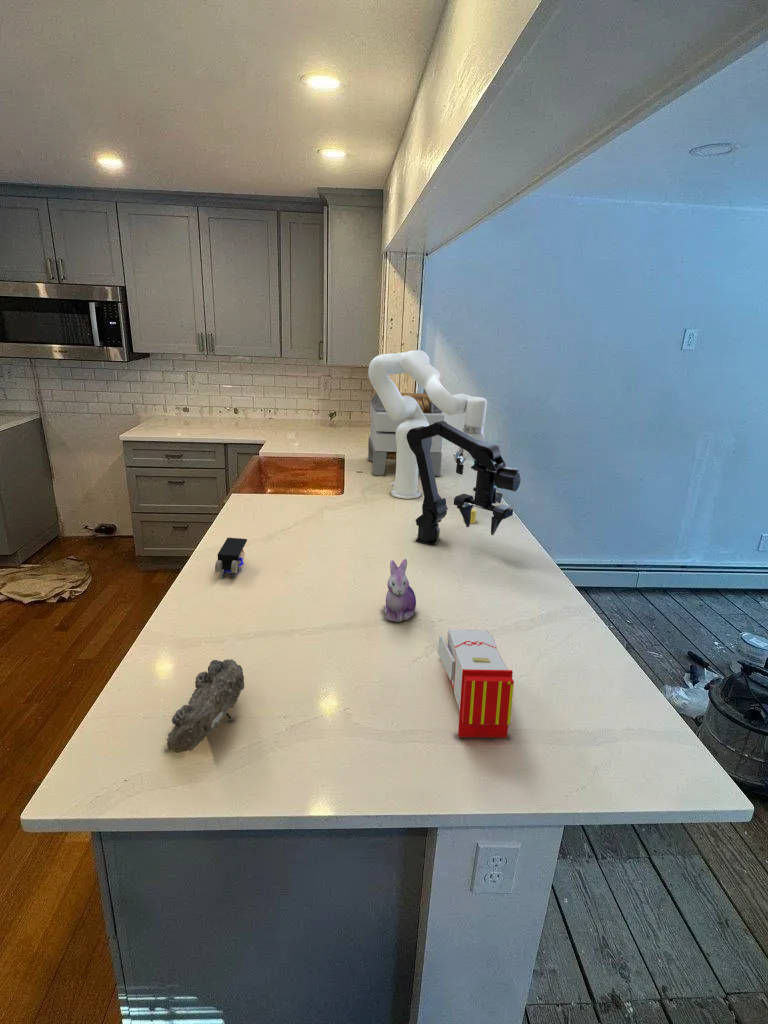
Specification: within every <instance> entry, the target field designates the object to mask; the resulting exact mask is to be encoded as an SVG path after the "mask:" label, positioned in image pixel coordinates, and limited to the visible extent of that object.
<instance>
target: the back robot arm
mask: <svg viewBox="0 0 768 1024" xmlns="http://www.w3.org/2000/svg"><path fill="white" fill-rule="evenodd" d="M430 361H431V360H430V357H429V355H428V354H427V352H426V351H424V350H421V349H416V350H415V349H413V350H408V351H404V352H403V351H402V352H392V353H383V354H382V353H381V354H378V355H376V356H374V357H373V358H372V360H371V361H370V362H369V366H368V369H367V377H368V380H369V382H370V384H371V386H372V388H373V389H374V392H375V393H377V394H378V396H379V398H380V400H381V402H382V404H383V406H384V408H385V410H386V412H387V414H388V416H389V417H390V418H391V419H392V420H394V421H399V420H404V421H405V422H403V423H401V424H400V425H399V426H398V428H397V430H396V444H397V456H396V459H395V479H394V480H393V481H392V482H390V485H391V486H392V487H393V488H392V489H391V491H390V495H392V496H393V497H395V498H397V499H404V500H405V499H406V500H412V499H418V498H419V497H421V493H422V492H421V491H420V490H419V489H418V485H419V484H418V482H419V470H418V465H417V460H416V456H415V454H414V453H413V452H412V450H411V449H410V447H409V444H408V441H407V438H406V435H407V433H408V431H409V430H410V429H413V428H417V427H420V426H425V427H426V426H429V423H428V421H427V419H426V417H425V416H424V414H423V412H422V410H421V408H420V406H419V404H418V403H417V401H416V400H415V399H414V398H412V397H411V396H402V395H401V394H400V393H401V392H400V390H399V388H398V386H397V385H396V383H395V382H394V381H393V380H392V379H391V378H390V376H393V375H399V374H407V375H408V376H410V378H412V379H413V380H414V381H415V382H416V383H418V384H419V385H420V386H421V388H422V389H425V391H426V393H427V395H428V397H429V399H430V400H431V401H432V403H433V404H434V405H436V406H437V407H438V408H439V409H440V410H441V411H442V413H444V415H447V416H450V417H452V416H456V415H460V414H465V415H464V425H463V428H462V432H464V433H465V434H467V435H469V436H471V437H473V438H475V439H477V440H481V441H486V440H485V433H484V430H485V429H484V427H485V423H486V414H487V408H488V401H487V399H486V398H484V397H481V396H472V395H469V394H466V393H455V394H452V393H451V392H450V391H448V389H446V388H445V387H444V386H443V384H442V382H441V381H440V377H441V373H440V372H439V370H437V368H435V367H434V366H432V365H431V364H430ZM452 456H453V458H454V462H455V464H456V465H455V466H456V467H455V473H456V474H458V475H460V476H461V475H463V474H464V463H465V461H474V462H473V465H475V464H476V462H477V461H476V460H475V459H473V458H472V456H471V455H470V453H469V452H467V451H466V450H464V449H462V448H461V447H459V446H458V450H456V451H455V452H454V453H453V454H452ZM473 471H475V472H477V470H475V469H473Z"/></svg>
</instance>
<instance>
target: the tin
mask: <svg viewBox="0 0 768 1024" xmlns="http://www.w3.org/2000/svg"><path fill="white" fill-rule="evenodd" d="M477 511H478V510H477V509H476V508H474V507H472V510H471V519H470V524H475V523H476V521H477V513H478V512H477Z"/></svg>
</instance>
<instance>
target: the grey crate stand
mask: <svg viewBox="0 0 768 1024" xmlns="http://www.w3.org/2000/svg"><path fill="white" fill-rule="evenodd" d="M422 389H423V391H422V393H420V392H418V393H417V392H416V393H415V392H400V394H401V395H402V396H411V397H412V398H414V399H415V400H416V401H417V403H418V404H419V406H420V408H421V410H422V412H423V414H424V416H425V417H426V419H427V421H428V423H429V425H432V424H434V423H435V422H438V421H445V414H443V412H442V411H441V410H440V409H439V408H438V407H437V406H436V405H434V404H433V403H432V401H431V400H430V399H429V397H428V395H427V393H426V391H425V389H424V388H422ZM369 413H370V415H369V416H370V423H369V424H370V427H369V436H368V444H367V447H368V448H367V451H368V452H367V453H368V454H367V459H368V461H370V462H372V469H371V470H372V475H373V476H385V470H386V461H387V460H396V456H397V444H396V430H397V428H398V426H399V425H400V424H401V423H403V422H405V421H404V420H399V421H394V420H392V419H391V418H390V417H389V416H388V414H387V412H386V410H385V408H384V406H383V404H382V402H381V400H380V398H379V396H378V394H377V393H376V392H375V393H374V395H373V397H372V399H371V400H370V412H369ZM443 439H444V438H443V437H441V436H439V435H436V436H434V437H432V445H431V449H430V456H431V461H432V466H433V471H434V476H435V477H441V473H442V458H443V457H442V456H443V452H442V449H443V448H442V447H443Z"/></svg>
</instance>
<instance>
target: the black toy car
mask: <svg viewBox="0 0 768 1024" xmlns="http://www.w3.org/2000/svg"><path fill="white" fill-rule="evenodd" d="M247 542H248V538H240V537H226V539H225V541H224V543H223V544H222V546H221V547H220V549H219V551H218V552H217V560H216V562H215V564H214V572H215V573H221V577H222V578H224V577H225V576H226V574H227V573H230V574H231V573H232V574H231V578H234V577H235V575H236V573H237V572H239V571H240V567H242V566H243V565H244V564H245V562H244V558H245V551H244V547H245V546H246V544H247Z"/></svg>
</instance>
